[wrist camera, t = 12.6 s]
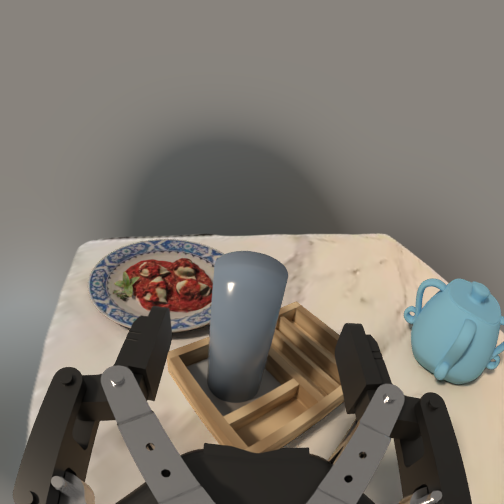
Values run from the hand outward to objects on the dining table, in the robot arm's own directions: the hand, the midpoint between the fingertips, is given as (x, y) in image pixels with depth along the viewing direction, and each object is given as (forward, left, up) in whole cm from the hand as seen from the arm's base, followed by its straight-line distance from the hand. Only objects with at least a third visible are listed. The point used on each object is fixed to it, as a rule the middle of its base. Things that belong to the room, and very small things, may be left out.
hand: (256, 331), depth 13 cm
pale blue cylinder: (-6, -9, -18) cm, 21 cm away
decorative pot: (-36, +7, -20) cm, 42 cm away
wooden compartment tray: (-11, -7, -20) cm, 23 cm away
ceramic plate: (-8, -31, -20) cm, 37 cm away
